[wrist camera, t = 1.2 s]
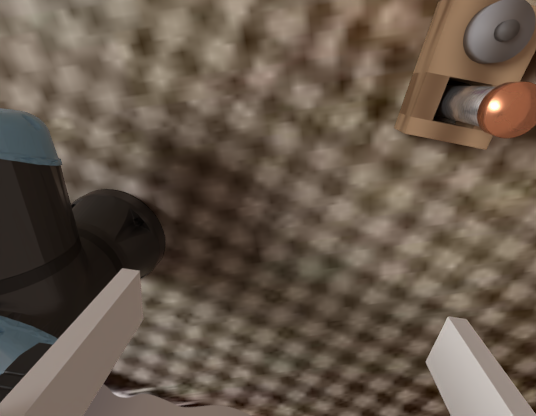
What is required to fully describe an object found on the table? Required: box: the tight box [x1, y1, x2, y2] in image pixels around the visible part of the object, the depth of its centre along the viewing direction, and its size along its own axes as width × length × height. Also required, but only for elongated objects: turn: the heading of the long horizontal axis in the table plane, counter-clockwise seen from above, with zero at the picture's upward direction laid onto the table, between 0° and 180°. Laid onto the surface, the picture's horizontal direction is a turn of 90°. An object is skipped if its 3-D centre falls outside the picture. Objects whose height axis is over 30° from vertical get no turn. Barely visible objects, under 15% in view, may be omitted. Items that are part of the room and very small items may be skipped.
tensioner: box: [394, 0, 536, 150], centre depth 30 cm, size 9×13×7 cm
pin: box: [435, 82, 536, 138], centre depth 28 cm, size 4×4×12 cm
